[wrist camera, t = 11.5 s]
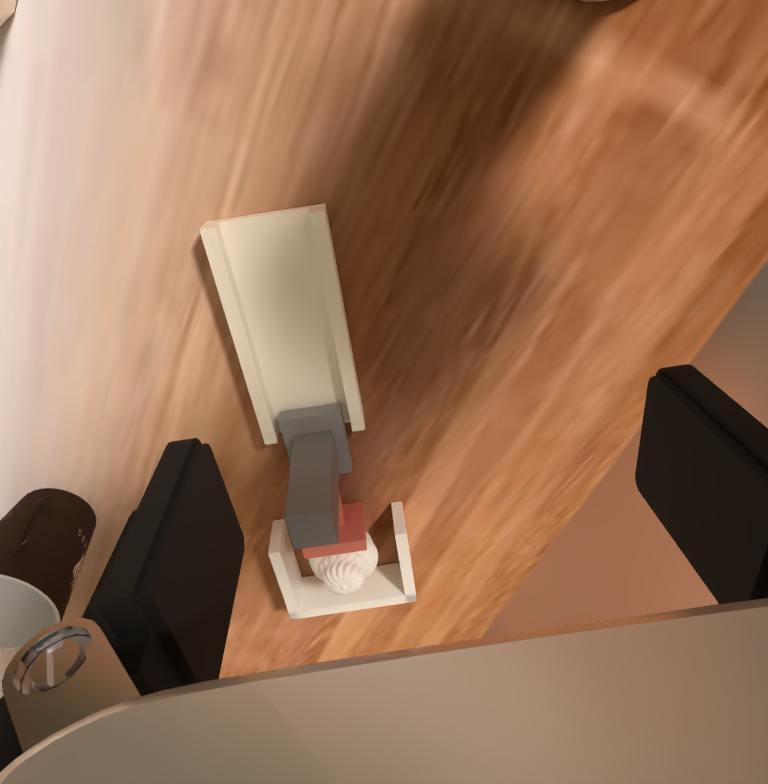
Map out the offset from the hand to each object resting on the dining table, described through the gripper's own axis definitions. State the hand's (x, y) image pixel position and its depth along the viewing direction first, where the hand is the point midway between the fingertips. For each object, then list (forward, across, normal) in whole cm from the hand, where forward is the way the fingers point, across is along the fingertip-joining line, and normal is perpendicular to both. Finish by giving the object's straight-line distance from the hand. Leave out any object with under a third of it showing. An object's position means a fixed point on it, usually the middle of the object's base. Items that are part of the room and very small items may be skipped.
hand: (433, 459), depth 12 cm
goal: (+28, +7, +32) cm, 43 cm away
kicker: (+27, +7, +21) cm, 35 cm away
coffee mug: (+28, +30, +22) cm, 47 cm away
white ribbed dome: (+28, +7, +30) cm, 42 cm away
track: (+28, +7, +8) cm, 30 cm away
